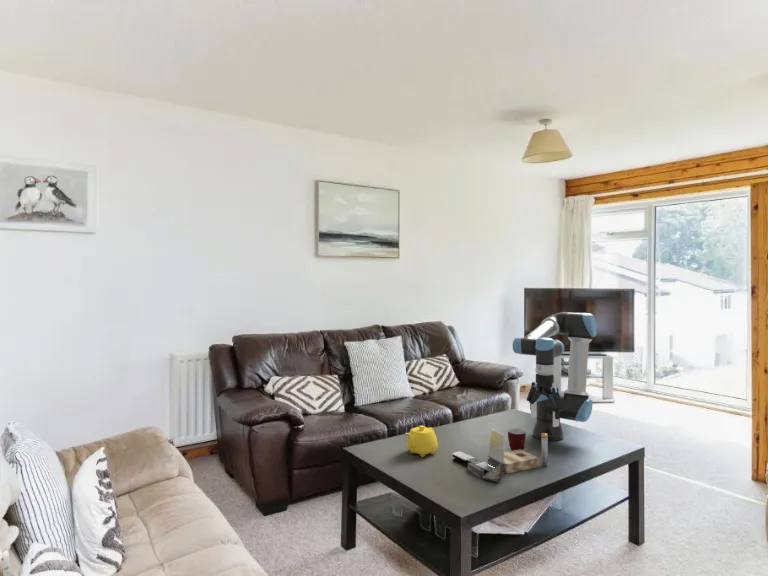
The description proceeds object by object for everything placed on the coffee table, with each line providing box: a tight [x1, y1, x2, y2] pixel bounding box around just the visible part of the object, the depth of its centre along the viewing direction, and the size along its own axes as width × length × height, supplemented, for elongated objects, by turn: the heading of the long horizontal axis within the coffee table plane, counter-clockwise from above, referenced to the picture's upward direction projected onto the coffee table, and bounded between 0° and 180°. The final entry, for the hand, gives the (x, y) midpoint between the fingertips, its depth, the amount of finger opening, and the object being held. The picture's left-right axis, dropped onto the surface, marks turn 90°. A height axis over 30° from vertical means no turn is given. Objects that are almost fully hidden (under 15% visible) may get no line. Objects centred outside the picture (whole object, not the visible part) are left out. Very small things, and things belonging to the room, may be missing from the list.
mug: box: [507, 428, 527, 451], centre depth 233 cm, size 10×8×10 cm
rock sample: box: [481, 463, 504, 483], centre depth 204 cm, size 10×8×9 cm
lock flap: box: [487, 428, 506, 465], centre depth 215 cm, size 1×10×13 cm, turn 25°
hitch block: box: [467, 449, 539, 478], centre depth 216 cm, size 30×12×4 cm, turn 115°
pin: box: [540, 433, 549, 468], centre depth 218 cm, size 3×3×14 cm
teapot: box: [404, 425, 439, 458], centre depth 234 cm, size 14×20×13 cm
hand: (544, 422), depth 218 cm, fingers open, 13 cm apart
